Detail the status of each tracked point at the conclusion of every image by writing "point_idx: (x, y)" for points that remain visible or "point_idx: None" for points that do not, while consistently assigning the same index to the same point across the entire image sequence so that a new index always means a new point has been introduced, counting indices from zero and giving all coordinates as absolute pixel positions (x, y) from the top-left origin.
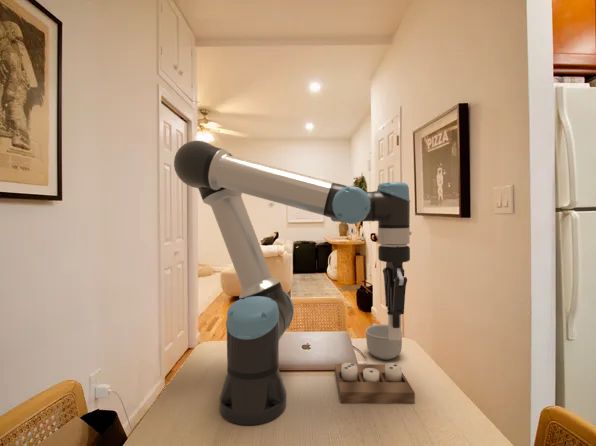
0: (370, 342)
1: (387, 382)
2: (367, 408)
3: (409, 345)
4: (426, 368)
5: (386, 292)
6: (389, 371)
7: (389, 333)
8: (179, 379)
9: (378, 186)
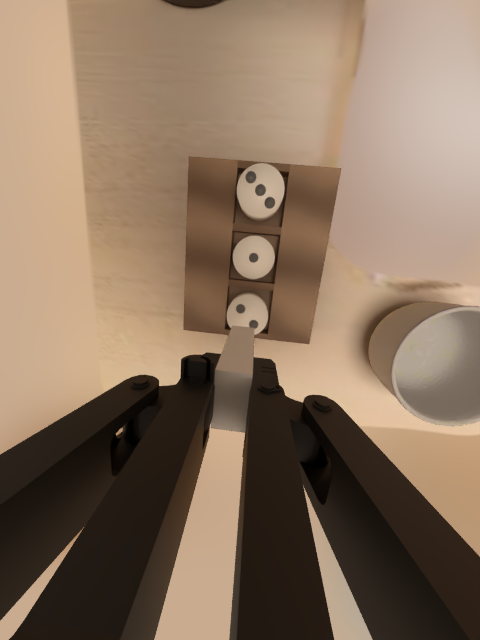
0: (423, 308)
1: (226, 288)
2: (175, 225)
3: None
4: None
5: (369, 502)
6: (233, 300)
7: (236, 333)
8: None
9: None
